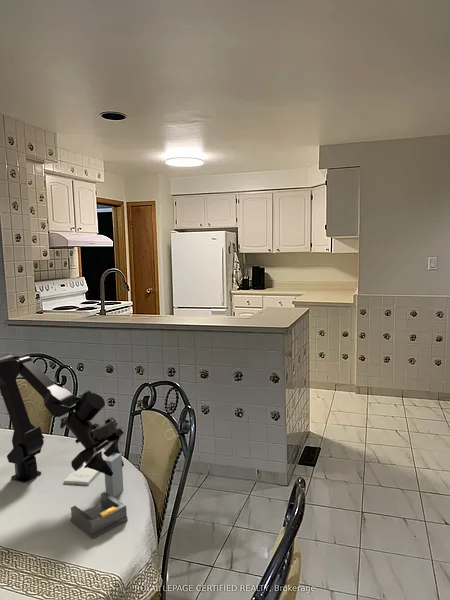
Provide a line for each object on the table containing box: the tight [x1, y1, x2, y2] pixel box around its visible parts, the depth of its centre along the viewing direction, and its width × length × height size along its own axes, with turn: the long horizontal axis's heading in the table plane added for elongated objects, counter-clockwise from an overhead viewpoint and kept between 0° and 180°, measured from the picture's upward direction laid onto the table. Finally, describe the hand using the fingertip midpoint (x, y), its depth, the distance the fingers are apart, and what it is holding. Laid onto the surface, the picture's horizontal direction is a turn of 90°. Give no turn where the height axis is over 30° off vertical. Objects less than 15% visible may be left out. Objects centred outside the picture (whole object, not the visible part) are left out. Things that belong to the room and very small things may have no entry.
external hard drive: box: [63, 462, 101, 486], centre depth 140 cm, size 2×8×12 cm
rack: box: [70, 491, 129, 540], centre depth 115 cm, size 11×10×5 cm
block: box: [103, 453, 124, 499], centre depth 128 cm, size 2×5×11 cm, turn 160°
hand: (117, 470), depth 127 cm, fingers closed on block, 5 cm apart
